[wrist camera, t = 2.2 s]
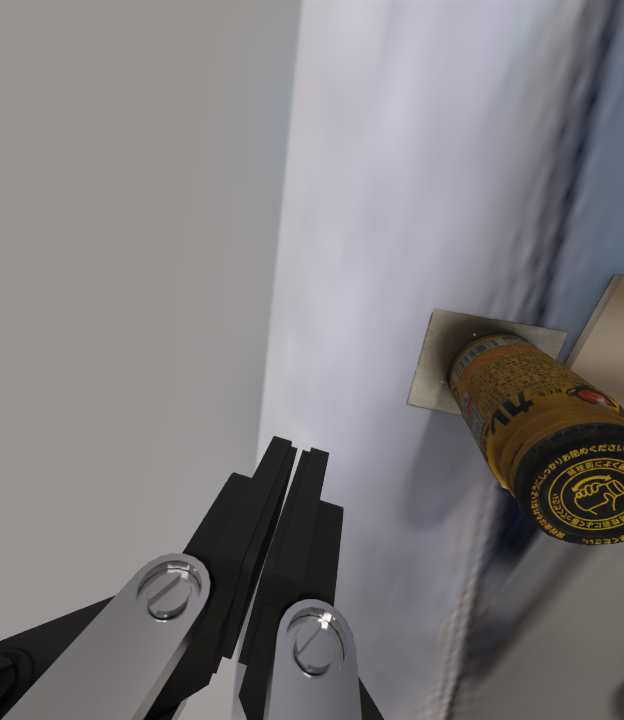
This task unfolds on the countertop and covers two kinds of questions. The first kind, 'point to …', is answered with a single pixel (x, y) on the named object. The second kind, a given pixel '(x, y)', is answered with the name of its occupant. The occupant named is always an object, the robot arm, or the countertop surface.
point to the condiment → (530, 421)
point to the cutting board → (603, 345)
